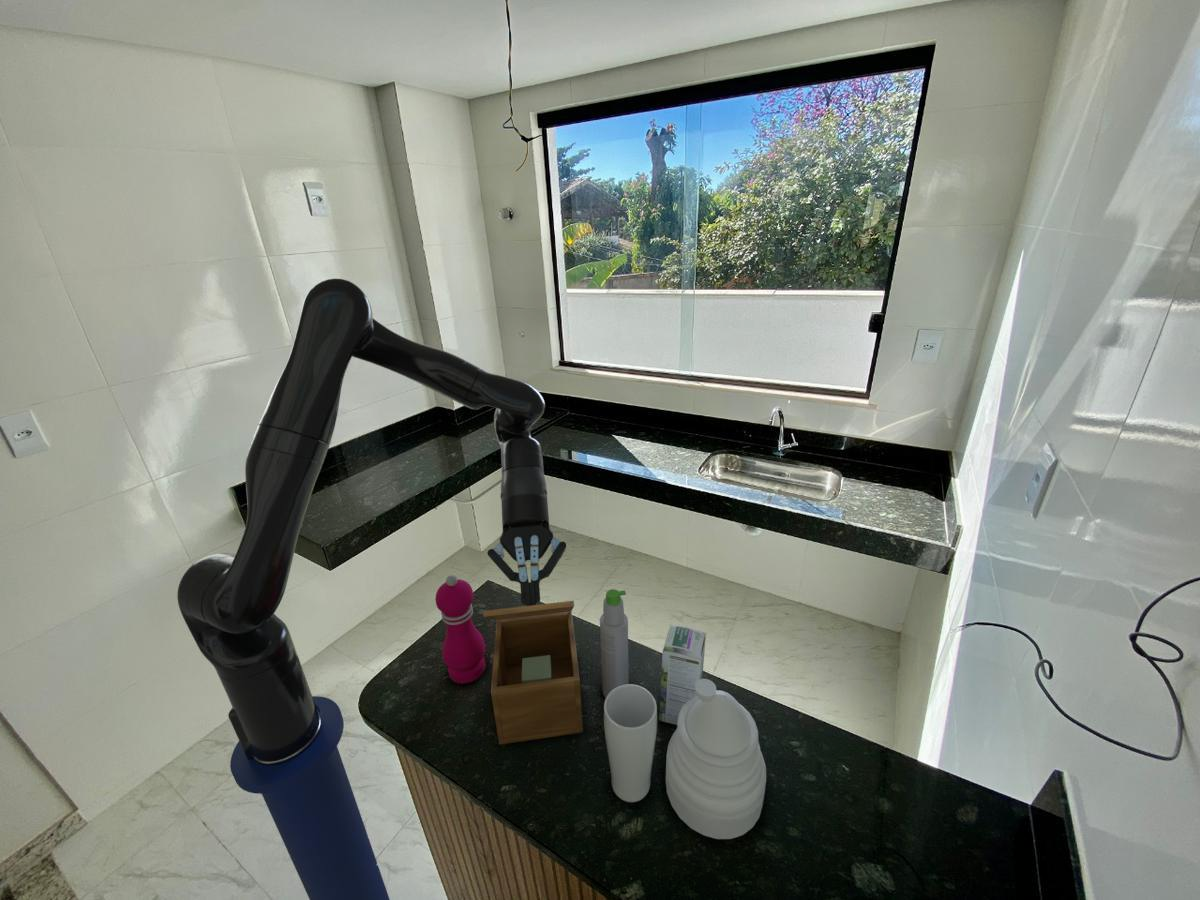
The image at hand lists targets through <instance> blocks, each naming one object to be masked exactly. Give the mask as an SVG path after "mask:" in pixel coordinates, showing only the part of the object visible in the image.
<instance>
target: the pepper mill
mask: <svg viewBox="0 0 1200 900" xmlns="http://www.w3.org/2000/svg"><path fill="white" fill-rule="evenodd" d="M474 595H475V594H474V590H473V587H472V586H471V584H470V583H469V582H468V581H466V580H465V579H460V578H459V579H458V577H457V576H456V575H454V574H450V575H448V576H447V577H446V579H445V582H443V583H442V584H441V585H440V586H439V587H438V588H437V591H436V593H435V600H434V601H435V605H436V608H437V609H438V610H439V611H440V614H441V620H442V621H443V623H445V624H446V635H445V638H444V641H443V644H442V650H441V655H442V661H443V663H444V664H445V665H446V666H447V670H448V675H449V678H450V679H451V680H452V682H454V683H456V684H462V685H463V684H468V683H472V682H474V681H476V680H477V679H479V678H480V677H481V676H482V675H483V673H484V671H485V669H486V661H485V660H486V659H485V654H486V642H485V639H484V637H483V635H482V633H480V631H479V630H478V629H477V628H476V626H475V625H474V623H473V620H472V616H473V615H474V609H473V602H474Z"/></svg>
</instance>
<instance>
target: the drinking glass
mask: <svg viewBox="0 0 1200 900" xmlns="http://www.w3.org/2000/svg"><path fill="white" fill-rule="evenodd" d="M603 731H604V732H603V733H604V738H605V745H606V751H607V757H608V762H609V763H608V764H609V769H610V781H611V787H612V790H613V792H614V794H615V795H616V796H617V797H618V798H619V799H620V800H622V801H624V802H627V803H636V802H639V801H641V800H643V799H644V798H645V797H646V796H647V795H648V793H649V791H650V789H651V781H652V777H651V776H652V769H653V762H654V755H655V749H656V743H657V742H656V741H657V734H658V733H657V732H658V705H657V702H656V699H655V697H654V695H653V694H652V693H651V692H650V691H649V690H648V689H646V688H645V687H643V686H641V685H637V684H634V683H629V684H626V685H621V686H618V687H616V688H614V689H613V690H612V691H611V692H610V693H609V694H608V695H607V697H606V698H605V699H604V702H603Z"/></svg>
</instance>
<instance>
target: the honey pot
mask: <svg viewBox="0 0 1200 900" xmlns="http://www.w3.org/2000/svg"><path fill="white" fill-rule="evenodd" d="M695 692H696V694H697V696H695V697H694V698H692V699H690V700H688V701H687V702H686V703H685V704H684V705H683V706H682V708H681V710H680V712H679V715H678V721H677V725H676V730H674V732H673V733H672V735H671V738H670V740H669V741H668V744H667V749H666V759H665V760H666V761H665V788H666V795H667V797H668V800H669V802H670V805H671V807H672V808H673V810H674V812H675V813H676V814H677V816H678V817H679V819H680V820H681V821H682V822H684V824H686V825H687V826H688V827H689V828H690V829H691V830H693V831H694V832H697V833H698V834H700V835H702V836H704V837H708V838H712V839H715V840H731V839H736V838H739V837H742V836H744V835H745V834H746V833H748V832H749V831H750V830H751V829H753V828H754V826H755V825H756V823H757V822H758V820H759V819H760V817H761V814H762V810H763V805H764V801H765V800H764V799H765V793H766V783H767V766H766V762H765V759H764V756H763V752H762V751H761V746H760V741H759V731H758V727H757V724H756V721H755V719H754V718H753V716H752V714H751V713H750V712H749V711H748V710H747V709H746V707H744V706H743V704H742V703H739V702H738V700H737V699H736V698H735V697H734V696H733V695H732V694H730V693H729V692H727V691H724V690H721V689H720V690H719V689H718V690H717V685H716V684H715V682H713V681H712V680H711V679H708V678H702V679H700V680H698V681H697V682H696V683H695Z"/></svg>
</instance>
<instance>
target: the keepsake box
mask: <svg viewBox="0 0 1200 900" xmlns="http://www.w3.org/2000/svg"><path fill="white" fill-rule="evenodd" d="M495 627H496V628H495V640H494V650H493V651H494V652H493V662H492V674H491V675H492V676H491V685H490V695H491V701H492V708H493V714H494V721H495V728H496V733H497V734H496V735H497V739H498V744H499V745H507V744H514V743H521V742H526V741H532V740H533V741H534V740H541V739H547V738H555V737H560V736H567V735H572V734H573V735H576V734H582V733H583V732H584V725H583V714H582V713H583V712H582V695H581V693H582V692H581V679H580V672H579V670H580V669H579V663H578V662H579V661H578V654H577V646H576V638H575V637H576V635H575V628H574V621H573V613H572V611H570V612H562V613H553V614H545V615H536V616H528V617H519V618H511V619H502V620H496V626H495ZM546 655H550V658H551V669H552V679H551V680H544V681H536V682H529V683H522V658H530V657H538V656H546Z"/></svg>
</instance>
